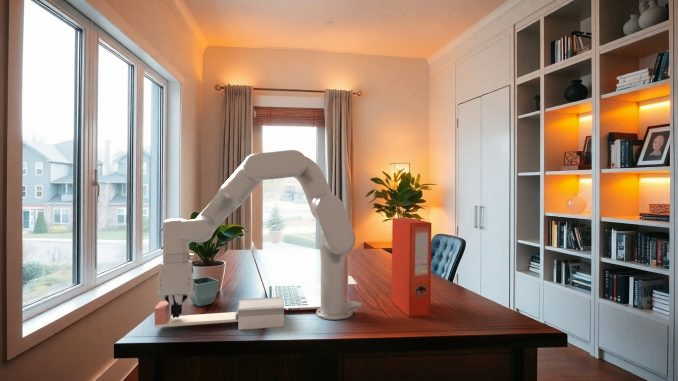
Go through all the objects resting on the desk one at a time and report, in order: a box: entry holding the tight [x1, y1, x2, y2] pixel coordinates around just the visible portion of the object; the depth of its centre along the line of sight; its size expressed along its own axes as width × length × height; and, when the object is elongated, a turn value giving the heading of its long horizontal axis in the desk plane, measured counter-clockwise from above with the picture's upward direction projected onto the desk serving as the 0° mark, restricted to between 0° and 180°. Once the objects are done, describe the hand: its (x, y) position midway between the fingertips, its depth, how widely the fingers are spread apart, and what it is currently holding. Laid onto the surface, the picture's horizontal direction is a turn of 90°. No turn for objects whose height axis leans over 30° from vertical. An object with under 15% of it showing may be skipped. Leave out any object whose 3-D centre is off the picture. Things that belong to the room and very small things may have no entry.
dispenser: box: [235, 296, 285, 331], centre depth 129 cm, size 15×12×6 cm
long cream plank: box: [154, 300, 238, 328], centre depth 125 cm, size 26×7×6 cm, turn 102°
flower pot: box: [189, 276, 219, 307], centre depth 148 cm, size 9×9×9 cm
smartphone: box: [348, 275, 358, 286], centre depth 184 cm, size 7×1×15 cm
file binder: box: [391, 217, 432, 318], centre depth 142 cm, size 8×17×32 cm, turn 12°
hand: (176, 316), depth 124 cm, fingers closed
